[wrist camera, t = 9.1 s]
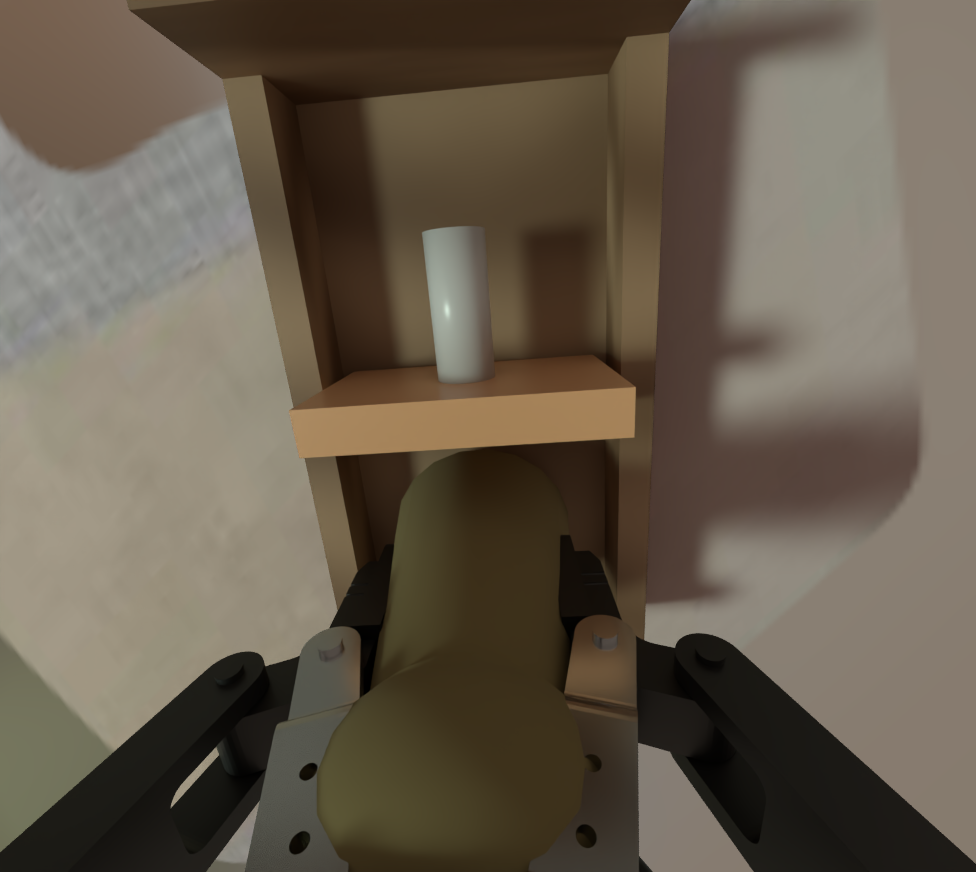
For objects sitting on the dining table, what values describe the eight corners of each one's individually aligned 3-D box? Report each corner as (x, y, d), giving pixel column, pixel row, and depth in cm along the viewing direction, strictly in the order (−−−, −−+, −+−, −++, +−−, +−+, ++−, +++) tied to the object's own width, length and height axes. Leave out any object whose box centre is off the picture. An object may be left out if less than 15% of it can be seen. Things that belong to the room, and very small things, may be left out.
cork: (549, 430, 15) (672, 788, 4) (584, 583, 17) (731, 1095, 6) (373, 472, 15) (104, 875, 5) (426, 615, 17) (313, 1131, 7)
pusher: (334, 250, 14) (249, 233, 9) (592, 229, 14) (640, 199, 9) (360, 405, 16) (299, 458, 11) (592, 390, 15) (634, 437, 11)
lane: (270, 82, 14) (111, -59, 8) (634, 44, 13) (734, -134, 8) (372, 618, 20) (322, 749, 14) (622, 607, 20) (672, 738, 14)
